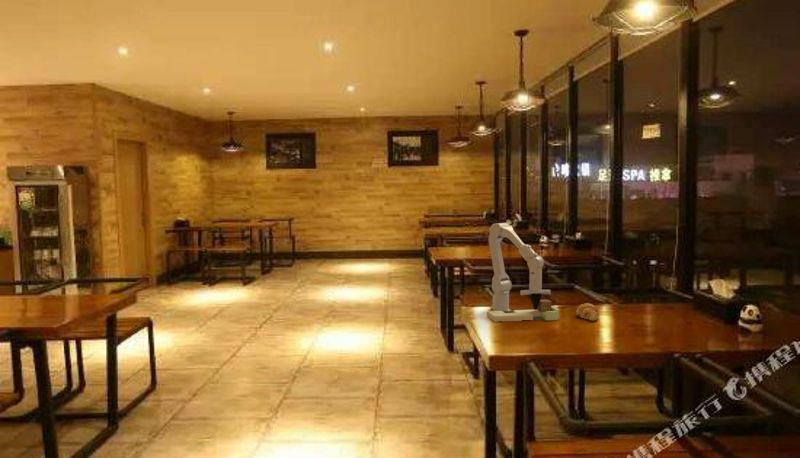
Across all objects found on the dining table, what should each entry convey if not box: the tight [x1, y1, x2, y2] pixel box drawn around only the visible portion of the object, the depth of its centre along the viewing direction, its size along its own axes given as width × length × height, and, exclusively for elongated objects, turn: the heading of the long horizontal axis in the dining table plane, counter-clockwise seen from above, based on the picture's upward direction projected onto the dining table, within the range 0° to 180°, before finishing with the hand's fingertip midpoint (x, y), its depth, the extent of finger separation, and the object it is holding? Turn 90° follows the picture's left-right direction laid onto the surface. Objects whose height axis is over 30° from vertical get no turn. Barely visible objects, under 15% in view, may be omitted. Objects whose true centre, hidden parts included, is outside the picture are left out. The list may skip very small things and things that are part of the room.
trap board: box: [486, 305, 560, 323], centre depth 279 cm, size 14×31×5 cm, turn 98°
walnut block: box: [537, 299, 552, 312], centre depth 283 cm, size 5×5×5 cm
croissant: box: [575, 302, 600, 322], centre depth 280 cm, size 21×10×8 cm, turn 178°
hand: (535, 309), depth 283 cm, fingers closed
